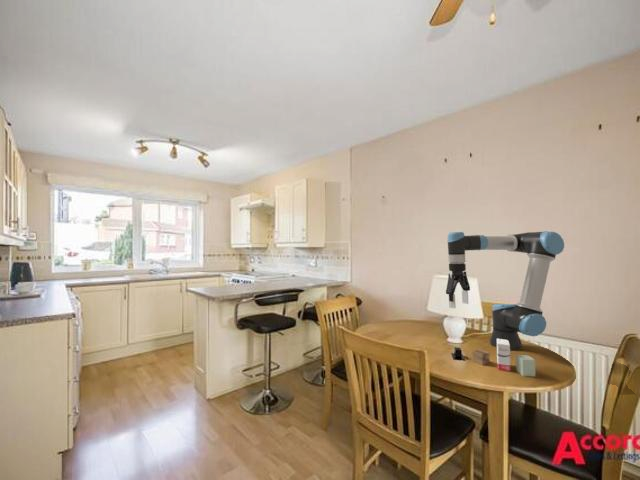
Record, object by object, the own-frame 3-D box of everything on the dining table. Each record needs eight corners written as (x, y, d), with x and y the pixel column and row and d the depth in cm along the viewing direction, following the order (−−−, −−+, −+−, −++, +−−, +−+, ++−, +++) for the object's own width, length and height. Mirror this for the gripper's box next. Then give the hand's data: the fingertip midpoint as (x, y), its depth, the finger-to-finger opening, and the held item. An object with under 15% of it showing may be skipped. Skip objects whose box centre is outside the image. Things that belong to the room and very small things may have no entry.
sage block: (528, 371, 127) (528, 355, 128) (535, 376, 122) (535, 360, 123) (516, 370, 128) (516, 355, 128) (522, 375, 123) (522, 359, 123)
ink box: (511, 371, 127) (510, 345, 127) (498, 369, 130) (497, 343, 130) (509, 364, 135) (508, 339, 135) (496, 362, 137) (496, 338, 137)
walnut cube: (480, 359, 141) (479, 349, 141) (489, 363, 136) (489, 353, 136) (472, 361, 139) (472, 351, 139) (482, 365, 134) (481, 354, 135)
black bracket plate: (467, 363, 138) (467, 353, 138) (451, 361, 140) (451, 352, 140) (463, 354, 150) (463, 345, 150) (448, 352, 152) (448, 343, 152)
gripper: (461, 261, 153) (463, 300, 153) (436, 264, 138) (438, 308, 137) (475, 261, 148) (477, 302, 147) (452, 265, 132) (454, 311, 132)
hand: (459, 305), depth 142 cm, fingers open, 13 cm apart
